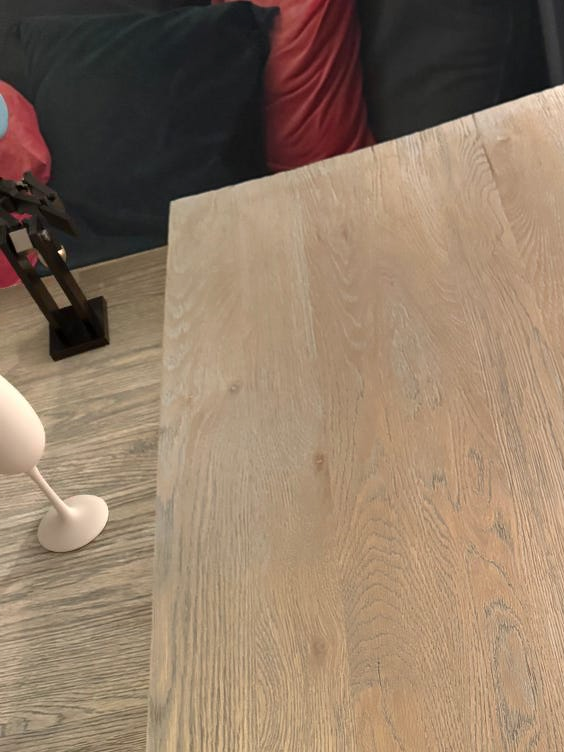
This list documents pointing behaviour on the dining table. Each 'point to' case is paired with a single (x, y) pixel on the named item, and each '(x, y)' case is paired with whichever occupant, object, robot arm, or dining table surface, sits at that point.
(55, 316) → the bracket
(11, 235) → the lever
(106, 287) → the dining table surface
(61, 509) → the wineglass
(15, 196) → the robot arm
